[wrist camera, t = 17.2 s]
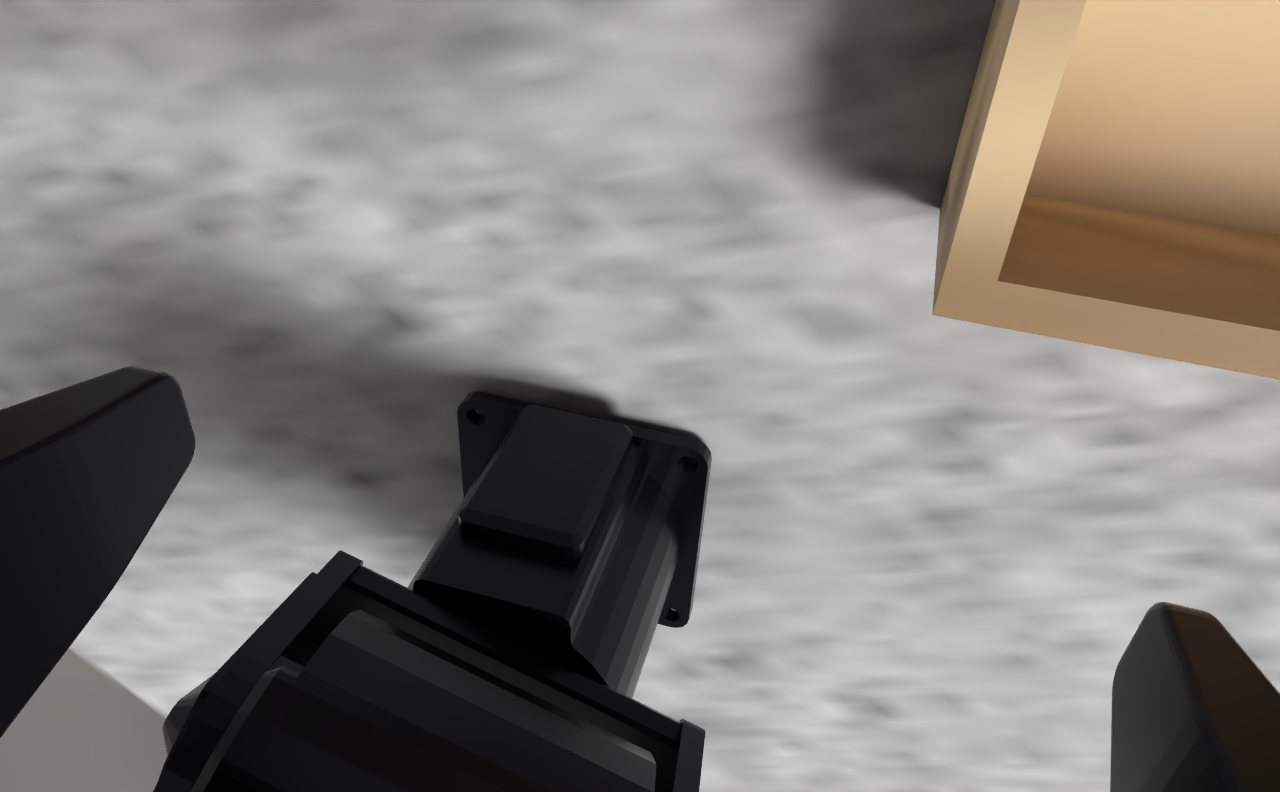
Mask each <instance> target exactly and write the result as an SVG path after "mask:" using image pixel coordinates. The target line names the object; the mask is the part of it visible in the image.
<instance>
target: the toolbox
mask: <svg viewBox="0 0 1280 792" xmlns="http://www.w3.org/2000/svg"><path fill="white" fill-rule="evenodd" d="M933 315H936V316H941V317H946V318H952V319H957V320H962V321H968V322H973V323H978V324H984V325H989V326H995V327H1000V328H1005V329H1011V330H1016V331H1021V332H1027V333H1032V334H1038V335H1043V336H1048V337H1054V338H1059V339H1064V340H1070V341H1075V342H1080V343H1086V344H1091V345H1097V346H1102V347H1107V348H1113V349H1118V350H1123V351H1129V352H1134V353H1140V354H1145V355H1150V356H1156V357H1161V358H1166V359H1172V360H1177V361H1183V362H1188V363H1193V364H1199V365H1204V366H1209V367H1215V368H1220V369H1225V370H1231V371H1236V372H1242V373H1247V374H1252V375H1258V376H1263V377H1268V378H1274V379H1279V380H1280V0H995V4H994V8H993V11H992V15H991V19H990V23H989V27H988V30H987V34H986V38H985V42H984V46H983V49H982V53H981V57H980V61H979V65H978V68H977V72H976V76H975V80H974V84H973V87H972V91H971V95H970V99H969V103H968V106H967V110H966V114H965V118H964V121H963V125H962V129H961V133H960V137H959V140H958V144H957V148H956V152H955V156H954V159H953V163H952V167H951V171H950V175H949V178H948V182H947V186H946V190H945V194H944V197H943V201H942V205H941V209H940V219H939V233H938V246H937V260H936V274H935V288H934V302H933Z"/></svg>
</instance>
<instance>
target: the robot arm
mask: <svg viewBox="0 0 1280 792" xmlns="http://www.w3.org/2000/svg"><path fill="white" fill-rule="evenodd" d="M474 409H477V410H479V411H481V412H482V413H483V414H484V416H482V415H480V414H478V413H477V412H476V411H475V410H474ZM457 414H458V427H459V440H460V453H461V467H462V480H463V493H464V499H463V500H462V502H461V504H460V505H459V507H458V508H457V510H456V512H455V513H454V515H453V516H452V518H451V519H450V521H449V523H448V524H447V526H446V527H445V529H444V531H443V532H442V534H441V535H440V537H439V539H438V540H437V542H436V543H435V545H434V546H433V548H432V550H431V551H430V553H429V554H428V556H427V558H426V559H425V561H424V562H423V564H422V565H421V567H420V569H419V570H418V572H417V573H416V575H415V577H414V578H413V580H412V581H411V583H410V585H409V586H408V588H406V587H404V586H402V585H400V584H398V583H396V582H394V581H392V580H390V579H388V578H386V577H384V576H382V575H380V574H378V573H376V572H374V571H372V570H370V569H368V568H366V567H364V566H362V565H363V561H361V560H359V559H357V558H355V557H353V556H351V555H349V554H347V553H345V552H343V551H341V550H340V551H339V552H338V553H337V554H336V555H335V556H334V557H333V558H332V559H331V560H330V561H329V562H328V563H327V564H326V565H325V566H324V567H323V568H322V570H321V571H320V572H319V573H318V574H316V573H314V572H312V573H311V574H310V575H309V576H308V577H307V578H306V579H305V580H304V581H303V582H302V583H301V584H300V585H299V586H298V587H297V588H296V589H295V590H294V592H293V593H292V594H291V595H290V596H289V597H288V598H287V599H286V600H285V601H284V602H283V603H282V604H281V605H280V606H279V607H278V608H277V609H276V610H275V611H274V612H273V613H272V615H271V616H270V617H269V618H268V619H267V620H266V621H265V622H264V623H263V624H262V625H261V626H260V627H259V628H258V629H257V630H256V631H255V632H254V633H253V634H252V635H251V637H250V638H249V639H248V640H247V641H246V642H245V643H244V644H243V645H242V646H241V647H240V648H239V649H238V650H237V651H236V652H235V653H234V654H233V655H232V656H231V657H230V659H229V660H228V661H227V662H226V663H225V664H224V665H223V666H222V667H221V668H220V669H219V670H218V671H217V672H216V673H215V674H214V675H212V676H211V677H210V678H208V679H207V680H206V681H204V682H203V683H202V684H200V685H199V686H198V687H196V688H195V689H194V690H192V691H191V692H189V693H188V694H187V695H185V696H184V697H183V698H181V699H180V700H179V701H178V702H177V704H176V705H175V706H174V707H173V709H172V710H171V712H170V713H169V715H168V717H167V718H166V720H165V722H164V725H163V735H164V740H165V745H166V750H167V756H168V757H167V759H166V761H165V764H164V766H163V769H162V772H161V775H160V777H159V781H158V783H157V785H156V787H155V789H154V791H153V792H699V786H700V776H701V767H702V758H703V748H704V739H705V730H704V729H702V728H700V727H698V726H696V725H694V724H692V723H690V722H688V721H686V720H684V719H681V720H680V722H678V721H676V720H674V719H672V718H670V717H668V716H666V715H664V714H662V713H660V712H658V711H656V710H654V709H652V708H650V707H648V706H646V705H644V704H642V703H640V702H638V701H636V700H634V699H632V697H633V694H634V691H635V688H636V685H637V682H638V679H639V676H640V673H641V670H642V667H643V664H644V661H645V659H646V656H647V653H648V650H649V647H650V644H651V641H652V638H653V635H654V632H655V629H656V626H657V624H661V625H665V626H669V627H676V628H677V627H683V626H684V625H686V624H687V622H688V620H689V617H690V614H691V611H692V606H693V598H694V590H695V583H696V575H697V567H698V560H699V552H700V544H701V537H702V529H703V521H704V513H705V506H706V498H707V490H708V483H709V475H710V467H711V459H712V458H711V452H710V450H709V449H708V447H707V446H706V445H705V444H703V443H702V442H701V441H698V440H696V439H693V438H688V437H684V436H679V435H675V434H670V433H666V432H661V431H656V430H652V429H647V428H643V427H638V426H634V425H629V424H624V423H620V422H615V421H611V420H606V419H602V418H597V417H592V416H588V415H583V414H579V413H574V412H570V411H565V410H561V409H556V408H551V407H547V406H542V405H538V404H533V403H529V402H524V401H519V400H515V399H510V398H506V397H501V396H497V395H492V394H488V393H483V392H472V393H470V394H468V395H467V396H466V397H465V399H464V400H463V401H462V403H461V404H460V406H459V407H458V412H457ZM194 449H195V437H194V433H193V429H192V426H191V422H190V419H189V415H188V412H187V408H186V405H185V402H184V398H183V395H182V391H181V388H180V385H179V383H178V382H177V380H176V379H175V378H174V377H173V376H172V375H170V374H168V373H165V372H161V371H157V370H153V369H148V368H144V367H138V366H130V367H125V368H122V369H119V370H116V371H113V372H110V373H107V374H104V375H102V376H99V377H96V378H93V379H90V380H87V381H84V382H81V383H78V384H75V385H72V386H69V387H67V388H64V389H61V390H58V391H55V392H52V393H49V394H46V395H43V396H40V397H37V398H34V399H31V400H29V401H26V402H23V403H20V404H17V405H14V406H11V407H8V408H5V409H2V410H0V738H1V736H2V735H3V734H4V733H5V731H6V730H7V728H8V727H9V726H10V725H11V723H12V722H13V721H14V719H15V718H16V717H17V715H18V714H19V713H20V711H21V710H22V709H23V708H24V706H25V705H26V704H27V702H28V701H29V699H30V698H31V697H32V696H33V694H34V693H35V692H36V690H37V689H38V688H39V686H40V685H41V684H42V682H43V681H44V680H45V678H46V677H47V676H48V674H49V673H50V672H51V671H52V669H53V668H54V667H55V665H56V664H57V663H58V661H59V660H60V659H61V657H62V656H63V655H64V653H65V652H66V651H67V649H68V648H69V647H70V645H71V644H72V643H73V641H74V640H75V639H76V638H77V636H78V635H79V634H80V632H81V631H82V630H83V628H84V627H85V626H86V624H87V623H88V622H89V620H90V619H91V618H92V616H93V615H94V614H95V612H96V611H97V610H98V608H99V607H100V606H101V604H102V603H103V601H104V600H105V599H106V597H107V596H108V595H109V593H110V592H111V590H112V589H113V588H114V586H115V584H116V583H117V581H118V580H119V578H120V577H121V575H122V574H123V572H124V570H125V569H126V567H127V566H128V564H129V563H130V561H131V559H132V558H133V556H134V554H135V553H136V551H137V549H138V548H139V546H140V545H141V543H142V541H143V540H144V538H145V536H146V535H147V533H148V531H149V530H150V528H151V526H152V525H153V523H154V522H155V520H156V518H157V517H158V515H159V513H160V512H161V510H162V508H163V507H164V505H165V504H166V502H167V500H168V499H169V497H170V495H171V494H172V492H173V490H174V489H175V487H176V486H177V484H178V482H179V481H180V479H181V477H182V476H183V474H184V472H185V471H186V469H187V467H188V466H189V464H190V462H191V460H192V457H193V454H194ZM683 456H689V457H691V458H694V459H695V460H696V462H689V461H687V460H685V459H684V458H683ZM672 609H674V610H672ZM675 610H676V611H675ZM1110 792H1280V693H1279V692H1278V691H1277V689H1276V688H1275V687H1274V686H1273V685H1272V684H1271V682H1270V681H1269V680H1268V679H1267V678H1266V676H1265V675H1264V674H1263V673H1262V672H1261V670H1260V669H1259V668H1258V667H1257V666H1256V664H1255V663H1254V662H1253V661H1252V660H1251V658H1250V657H1249V656H1248V655H1247V654H1246V652H1245V651H1244V650H1243V649H1242V648H1241V646H1240V645H1239V644H1238V643H1237V642H1236V640H1235V639H1234V638H1233V637H1232V636H1231V634H1230V633H1229V632H1228V631H1227V630H1226V628H1225V627H1224V626H1223V625H1222V624H1221V622H1220V621H1219V620H1218V619H1217V618H1216V617H1214V616H1213V615H1212V614H1210V613H1208V612H1205V611H1202V610H1198V609H1193V608H1189V607H1185V606H1180V605H1176V604H1172V603H1167V602H1160V603H1156V604H1154V605H1153V606H1152V607H1151V608H1150V609H1149V610H1148V611H1147V613H1146V615H1145V616H1144V618H1143V620H1142V622H1141V624H1140V625H1139V627H1138V629H1137V631H1136V633H1135V634H1134V636H1133V638H1132V640H1131V642H1130V643H1129V645H1128V647H1127V649H1126V651H1125V652H1124V654H1123V656H1122V658H1121V660H1120V661H1119V663H1118V666H1117V669H1116V672H1115V676H1114V680H1113V687H1112V724H1111V781H1110Z"/></svg>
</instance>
